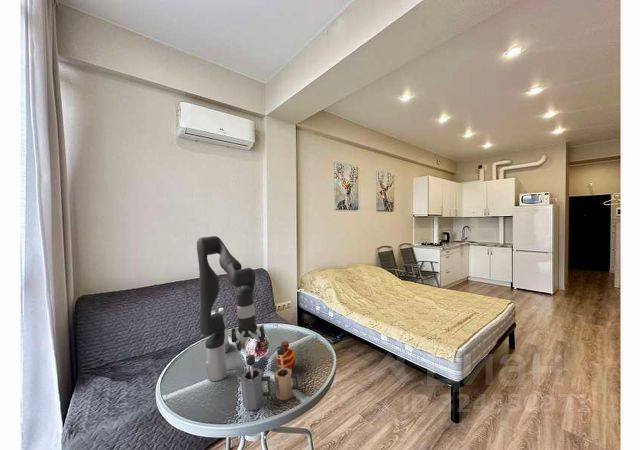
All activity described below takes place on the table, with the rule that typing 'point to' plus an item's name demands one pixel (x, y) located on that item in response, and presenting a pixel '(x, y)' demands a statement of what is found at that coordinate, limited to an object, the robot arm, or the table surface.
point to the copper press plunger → (280, 352)
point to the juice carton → (222, 312)
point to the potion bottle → (286, 357)
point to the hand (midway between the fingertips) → (249, 349)
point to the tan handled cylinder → (285, 384)
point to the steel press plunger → (250, 363)
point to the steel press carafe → (254, 389)
